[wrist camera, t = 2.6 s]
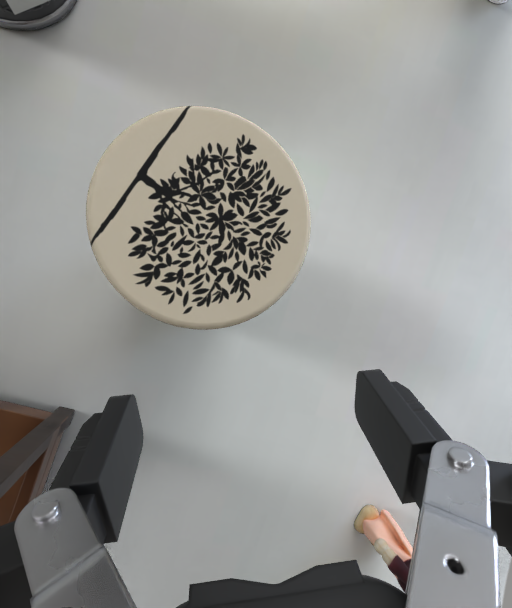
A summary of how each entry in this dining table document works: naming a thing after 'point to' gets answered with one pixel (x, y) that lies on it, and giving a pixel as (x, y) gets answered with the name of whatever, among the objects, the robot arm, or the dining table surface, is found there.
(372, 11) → the dining table surface
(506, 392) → the dining table surface
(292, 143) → the dining table surface
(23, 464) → the shelf
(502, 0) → the dixie cup
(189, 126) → the travel mug
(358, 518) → the grandmother figurine
